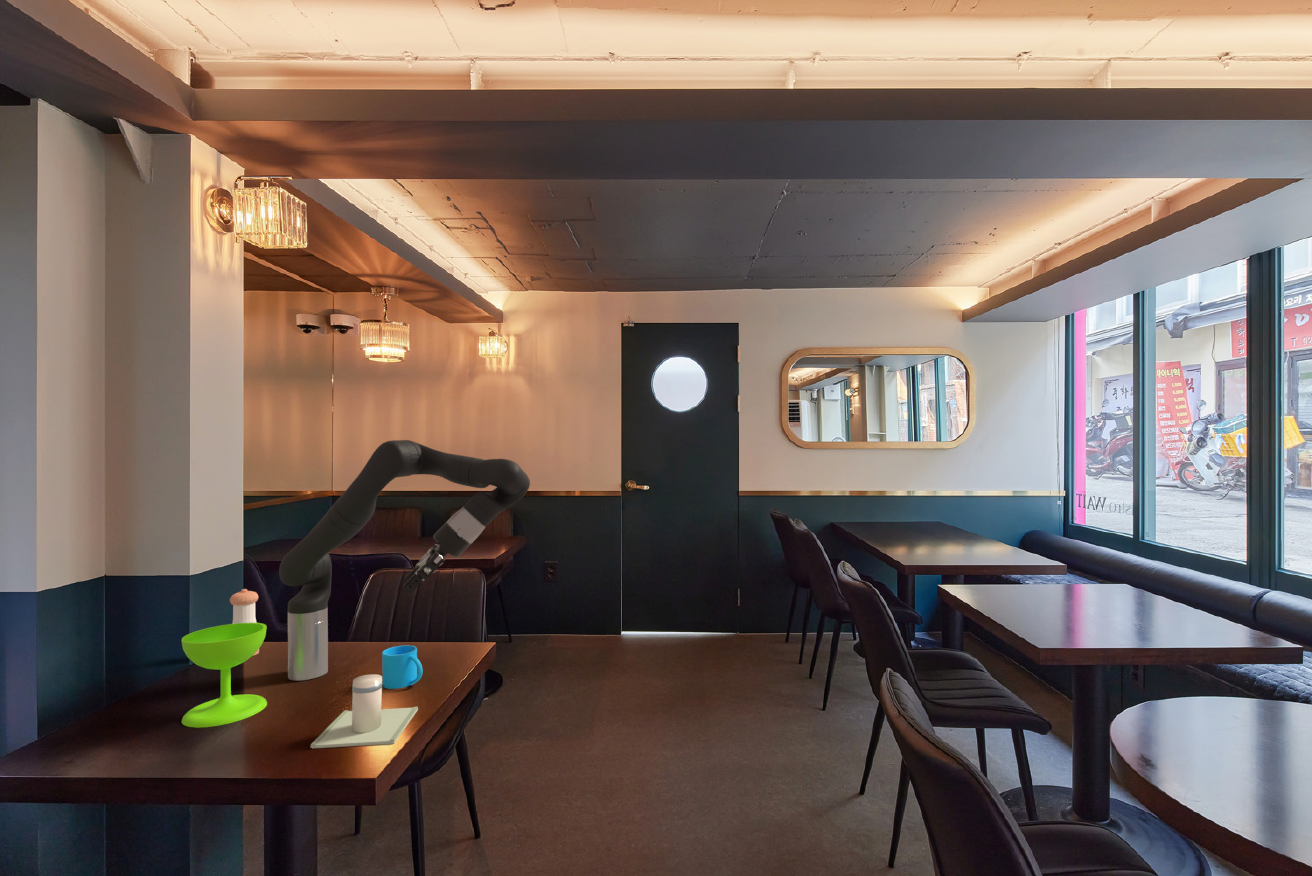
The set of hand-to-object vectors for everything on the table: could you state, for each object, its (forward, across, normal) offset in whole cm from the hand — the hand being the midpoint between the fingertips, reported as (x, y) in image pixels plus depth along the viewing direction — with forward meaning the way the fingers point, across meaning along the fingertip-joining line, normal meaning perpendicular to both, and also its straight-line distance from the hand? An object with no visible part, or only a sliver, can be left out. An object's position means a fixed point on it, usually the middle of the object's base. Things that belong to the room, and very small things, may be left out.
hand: (406, 586), depth 136 cm
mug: (+21, -21, +20) cm, 36 cm away
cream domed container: (+25, +4, +14) cm, 29 cm away
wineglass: (+48, -19, -7) cm, 52 cm away
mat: (+26, +3, +15) cm, 30 cm away
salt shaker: (+53, -65, -12) cm, 85 cm away
